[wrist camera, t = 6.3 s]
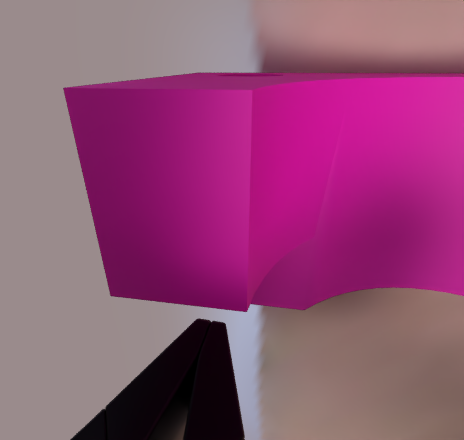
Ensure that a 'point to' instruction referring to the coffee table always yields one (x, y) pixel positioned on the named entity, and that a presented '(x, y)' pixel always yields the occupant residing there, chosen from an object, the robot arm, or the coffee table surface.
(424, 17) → the coffee table surface
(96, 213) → the toy block
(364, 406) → the coffee table surface
